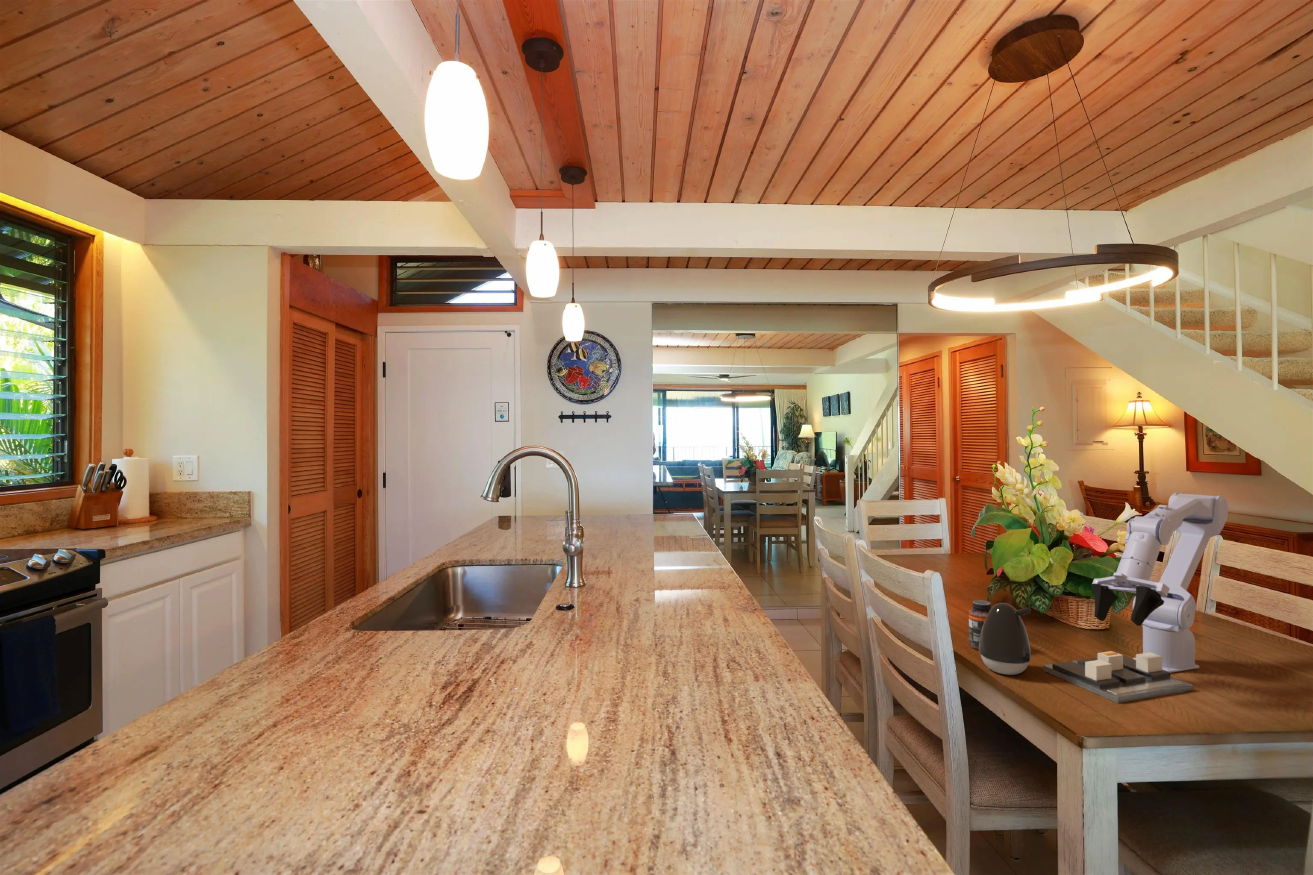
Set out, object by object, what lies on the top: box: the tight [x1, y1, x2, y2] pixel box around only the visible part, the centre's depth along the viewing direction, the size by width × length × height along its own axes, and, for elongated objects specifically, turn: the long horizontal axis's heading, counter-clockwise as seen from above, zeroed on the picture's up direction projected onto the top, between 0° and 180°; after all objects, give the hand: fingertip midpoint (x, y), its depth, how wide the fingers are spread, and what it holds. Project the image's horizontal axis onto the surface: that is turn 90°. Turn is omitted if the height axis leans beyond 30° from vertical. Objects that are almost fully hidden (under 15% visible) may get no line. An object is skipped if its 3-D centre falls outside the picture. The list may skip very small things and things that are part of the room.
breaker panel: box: [1042, 655, 1194, 704], centre depth 132 cm, size 20×17×2 cm
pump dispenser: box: [978, 602, 1032, 676], centre depth 138 cm, size 10×10×15 cm
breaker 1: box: [1085, 660, 1111, 681], centre depth 129 cm, size 4×2×3 cm, turn 105°
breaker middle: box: [1097, 650, 1124, 671], centre depth 133 cm, size 4×2×3 cm, turn 105°
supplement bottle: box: [968, 599, 992, 651], centre depth 152 cm, size 6×6×11 cm
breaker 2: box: [1135, 652, 1162, 673], centre depth 132 cm, size 4×2×3 cm, turn 105°
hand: (1116, 620), depth 129 cm, fingers open, 7 cm apart
